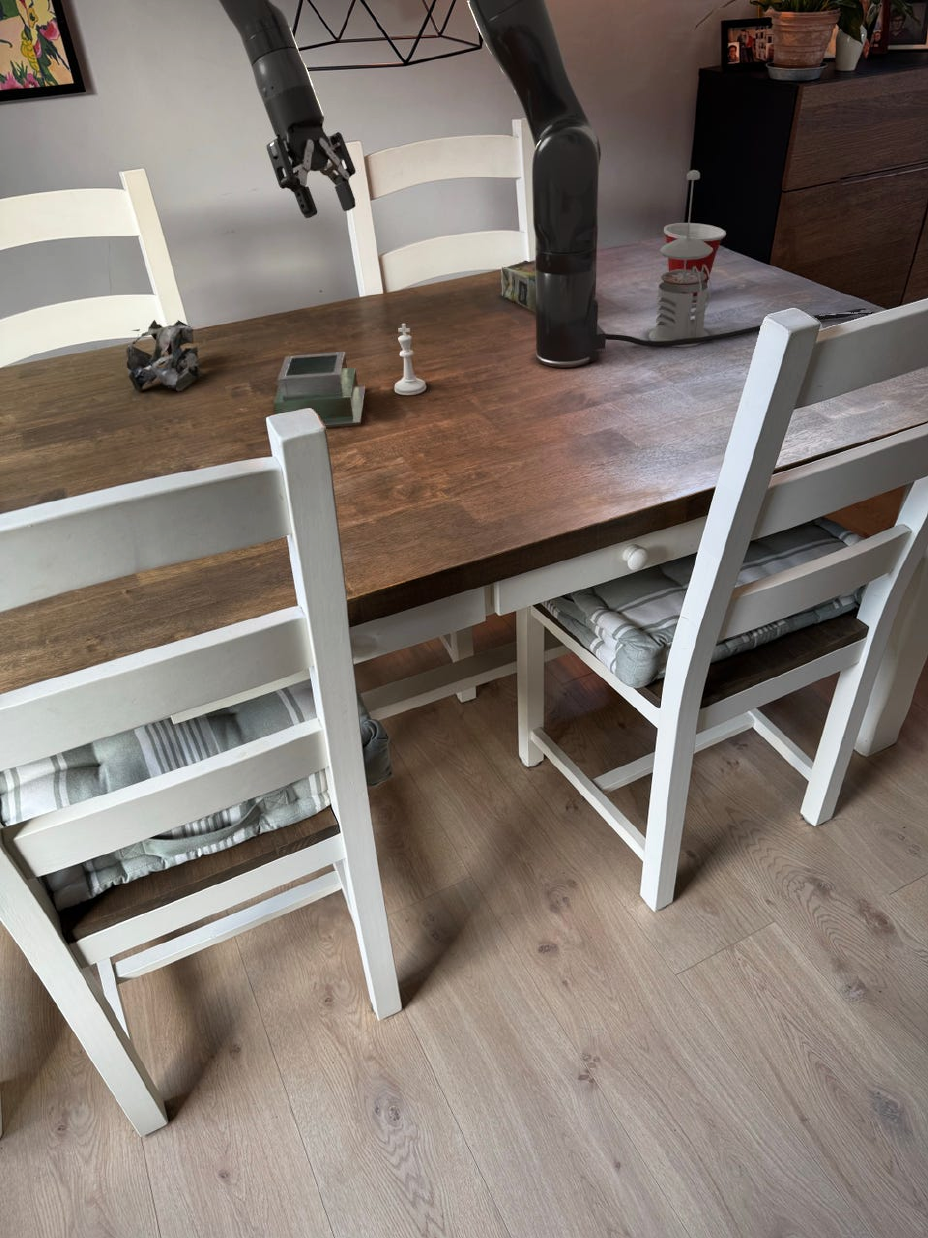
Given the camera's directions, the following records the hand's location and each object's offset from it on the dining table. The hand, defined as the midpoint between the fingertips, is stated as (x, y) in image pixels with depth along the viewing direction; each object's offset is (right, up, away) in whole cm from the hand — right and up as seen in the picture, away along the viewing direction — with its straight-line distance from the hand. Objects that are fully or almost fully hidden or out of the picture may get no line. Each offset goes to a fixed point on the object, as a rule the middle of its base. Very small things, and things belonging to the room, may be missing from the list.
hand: (331, 212), depth 127 cm
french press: (+56, -14, +15) cm, 60 cm away
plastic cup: (+61, -1, +31) cm, 69 cm away
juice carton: (+35, -2, +33) cm, 48 cm away
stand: (-2, -29, +1) cm, 29 cm away
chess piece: (+11, -25, +5) cm, 28 cm away
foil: (-29, -20, +15) cm, 39 cm away
